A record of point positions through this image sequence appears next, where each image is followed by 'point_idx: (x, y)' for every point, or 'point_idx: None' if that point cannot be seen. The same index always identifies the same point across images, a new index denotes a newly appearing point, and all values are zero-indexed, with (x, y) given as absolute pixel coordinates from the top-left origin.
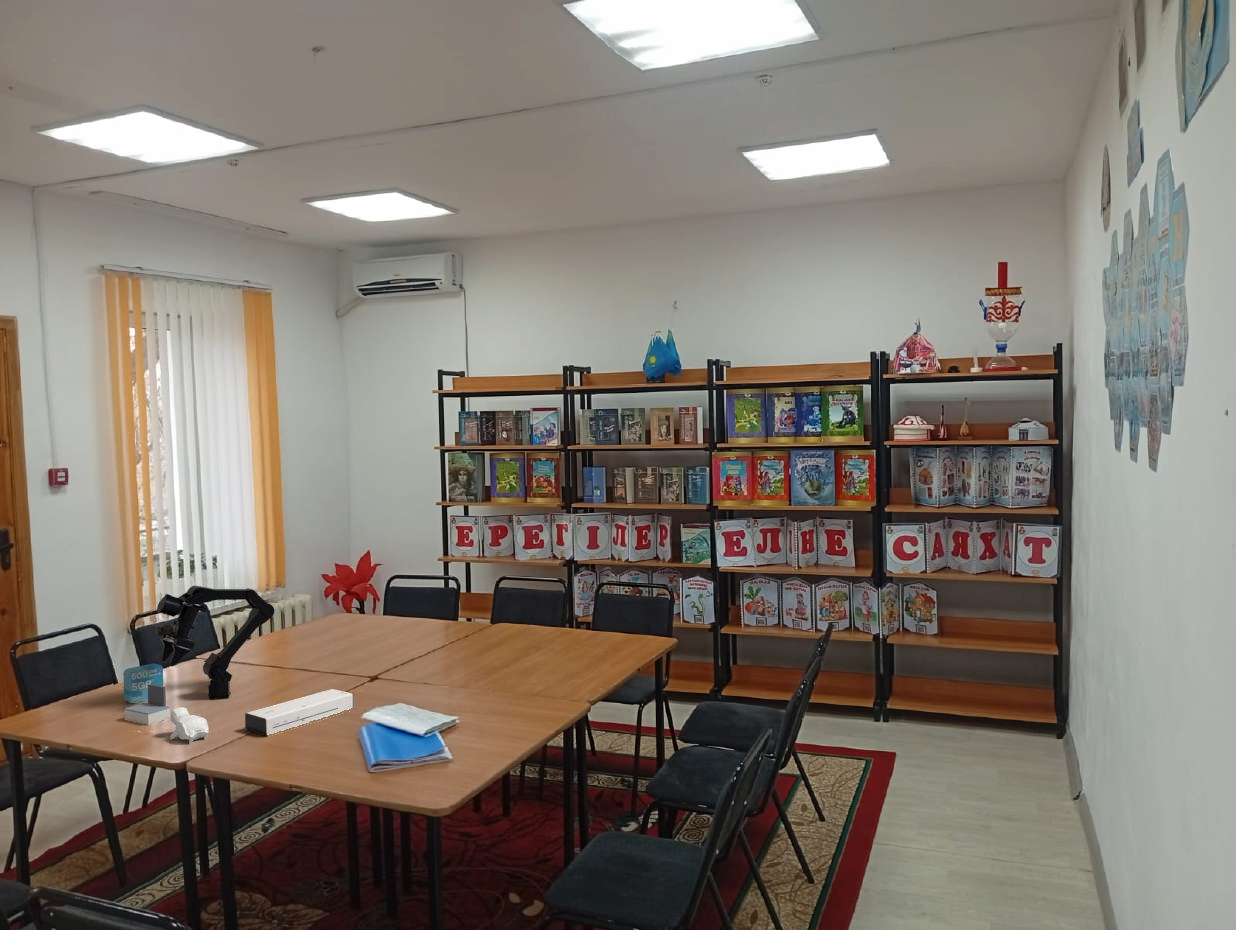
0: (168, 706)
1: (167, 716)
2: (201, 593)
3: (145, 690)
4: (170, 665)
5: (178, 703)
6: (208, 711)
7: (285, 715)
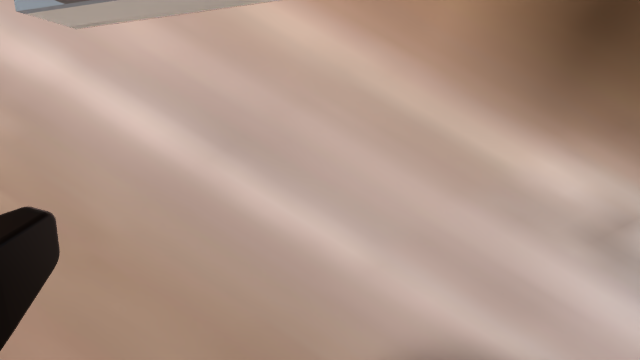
0: (33, 8)
1: None
2: None
3: None
4: (28, 209)
5: (385, 286)
6: None
7: None
